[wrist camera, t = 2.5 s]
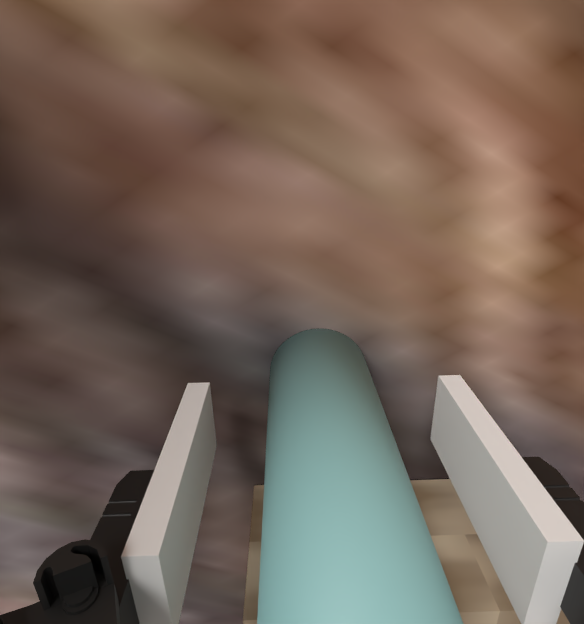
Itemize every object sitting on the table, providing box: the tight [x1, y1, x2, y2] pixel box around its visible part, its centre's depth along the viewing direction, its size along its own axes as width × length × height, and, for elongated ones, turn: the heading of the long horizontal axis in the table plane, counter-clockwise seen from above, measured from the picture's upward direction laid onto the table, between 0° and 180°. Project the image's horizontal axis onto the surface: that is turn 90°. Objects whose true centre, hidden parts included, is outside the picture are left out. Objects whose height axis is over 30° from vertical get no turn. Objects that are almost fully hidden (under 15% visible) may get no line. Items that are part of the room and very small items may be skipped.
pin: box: [257, 329, 463, 624], centre depth 11 cm, size 4×4×14 cm
